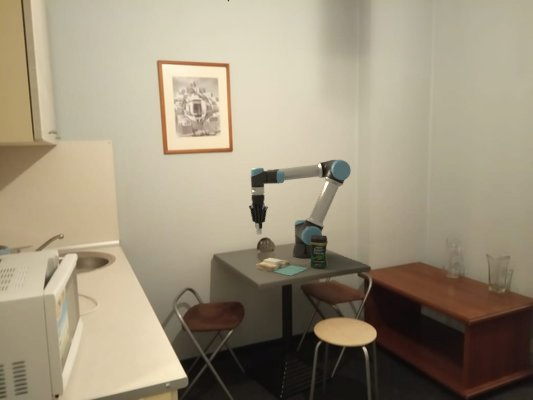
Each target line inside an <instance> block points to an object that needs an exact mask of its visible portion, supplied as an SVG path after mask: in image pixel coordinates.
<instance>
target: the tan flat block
mask: <svg viewBox="0 0 533 400" xmlns="http://www.w3.org/2000/svg"><path fill="white" fill-rule="evenodd" d="M274 259H276V258H274ZM278 259H279V258H278ZM279 260H282V263H280V264H277V265H272V264H267V263H264V261H262V262H259V263H256V264H255V269H256V270H262V271H265V272H266V271H267V272H271V273H274V272H273V271H275V270H278V269H280V268H283V267H286V266H288V265H290V261H289V260H285V259H279Z"/></svg>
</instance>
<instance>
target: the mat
mask: <svg viewBox="0 0 533 400" xmlns="http://www.w3.org/2000/svg"><path fill="white" fill-rule="evenodd" d="M306 270H309V268H307V267H301V266H298V265H292V264H289V265H288V266H286V267H283V268H280V269H278V270H275V271H273V272H272V273H276V274H280V275H285V276H288V275H289V276H290V277H293V276H295V275H297V274H299V273H302V272H305V271H306Z"/></svg>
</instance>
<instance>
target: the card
mask: <svg viewBox="0 0 533 400" xmlns="http://www.w3.org/2000/svg"><path fill="white" fill-rule="evenodd" d="M282 260H283V259H280V260H279V258H275V259H274V258H273V257H268V258H266V259H263V262H264V263H267V264H272V265H277V264H280V263H282Z"/></svg>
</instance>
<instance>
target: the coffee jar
mask: <svg viewBox="0 0 533 400" xmlns="http://www.w3.org/2000/svg"><path fill="white" fill-rule="evenodd" d="M327 236H328V235H323V234H322V235H312V236H311V242H310V243H311V246H312V254H311V258H310V267H311V268H313V269H326V268H328V253H327V246H328V237H327Z"/></svg>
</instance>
